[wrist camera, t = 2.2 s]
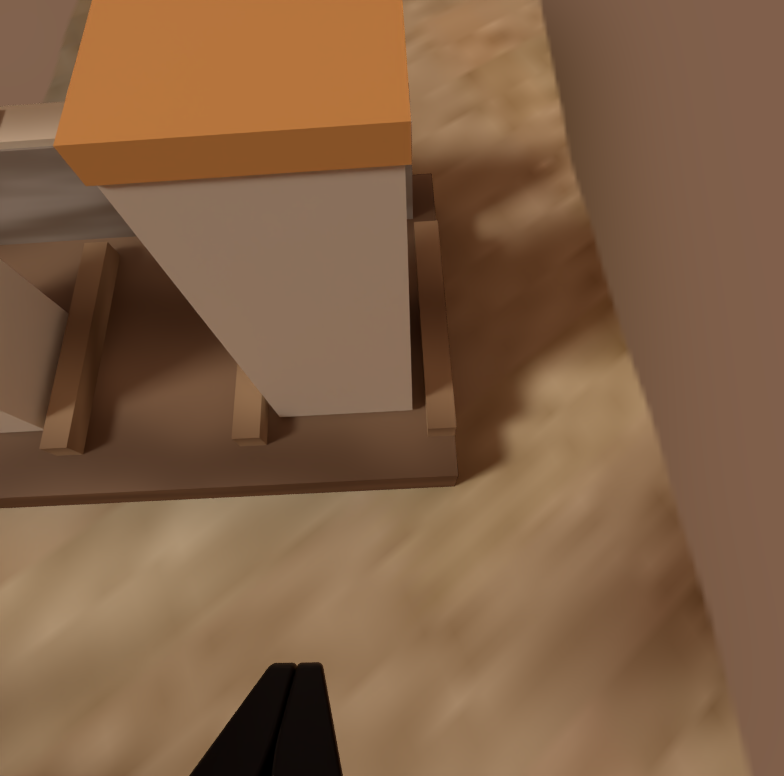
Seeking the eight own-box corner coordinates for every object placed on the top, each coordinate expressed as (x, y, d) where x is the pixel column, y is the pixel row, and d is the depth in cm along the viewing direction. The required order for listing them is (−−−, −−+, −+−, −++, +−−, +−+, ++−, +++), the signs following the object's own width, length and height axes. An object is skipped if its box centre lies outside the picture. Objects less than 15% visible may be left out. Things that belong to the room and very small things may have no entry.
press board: (454, 486, 20) (473, 431, 13) (-87, 512, 21) (-339, 472, 14) (430, 203, 25) (435, 58, 19) (-3, 231, 26) (-156, 101, 19)
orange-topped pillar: (415, 412, 19) (410, 120, 7) (277, 419, 19) (52, 145, 7) (408, 292, 21) (395, -92, 9) (282, 300, 21) (110, -70, 9)
